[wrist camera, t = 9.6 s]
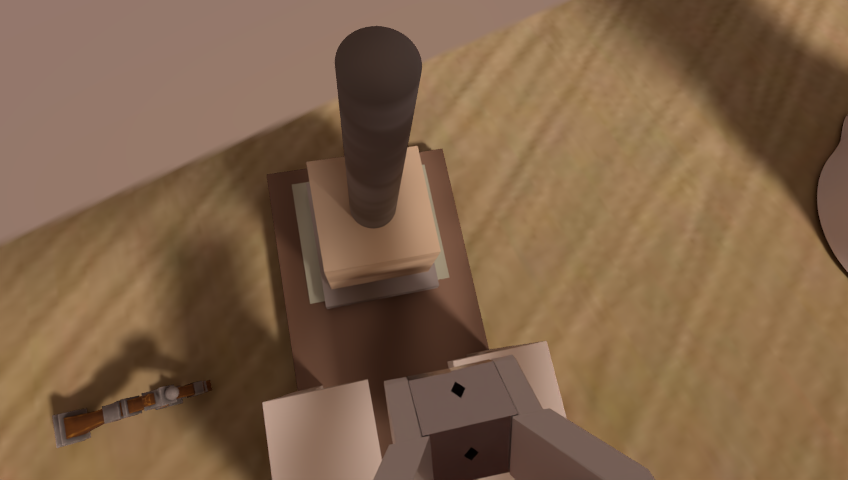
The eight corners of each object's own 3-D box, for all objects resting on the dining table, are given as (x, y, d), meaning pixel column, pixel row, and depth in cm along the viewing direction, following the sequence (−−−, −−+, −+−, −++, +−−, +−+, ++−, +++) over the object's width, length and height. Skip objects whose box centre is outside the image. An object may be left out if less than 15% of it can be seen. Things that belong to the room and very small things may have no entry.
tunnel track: (439, 157, 36) (473, 58, 25) (549, 640, 29) (669, 817, 18) (270, 182, 34) (222, 88, 23) (346, 704, 27) (332, 950, 16)
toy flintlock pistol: (226, 396, 30) (167, 411, 26) (123, 429, 32) (53, 449, 27) (220, 366, 30) (161, 376, 26) (119, 401, 32) (48, 416, 28)
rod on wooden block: (412, 172, 34) (467, -64, 15) (437, 288, 32) (534, 178, 13) (307, 188, 32) (231, -46, 14) (327, 309, 31) (269, 221, 12)
